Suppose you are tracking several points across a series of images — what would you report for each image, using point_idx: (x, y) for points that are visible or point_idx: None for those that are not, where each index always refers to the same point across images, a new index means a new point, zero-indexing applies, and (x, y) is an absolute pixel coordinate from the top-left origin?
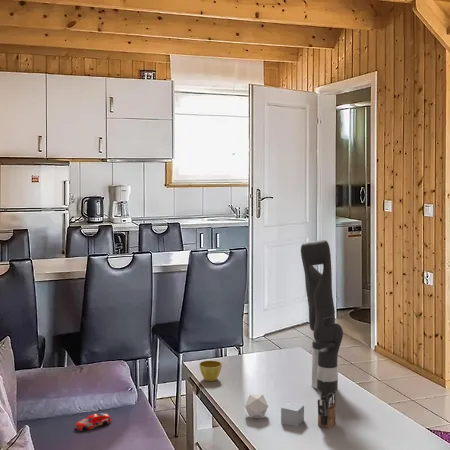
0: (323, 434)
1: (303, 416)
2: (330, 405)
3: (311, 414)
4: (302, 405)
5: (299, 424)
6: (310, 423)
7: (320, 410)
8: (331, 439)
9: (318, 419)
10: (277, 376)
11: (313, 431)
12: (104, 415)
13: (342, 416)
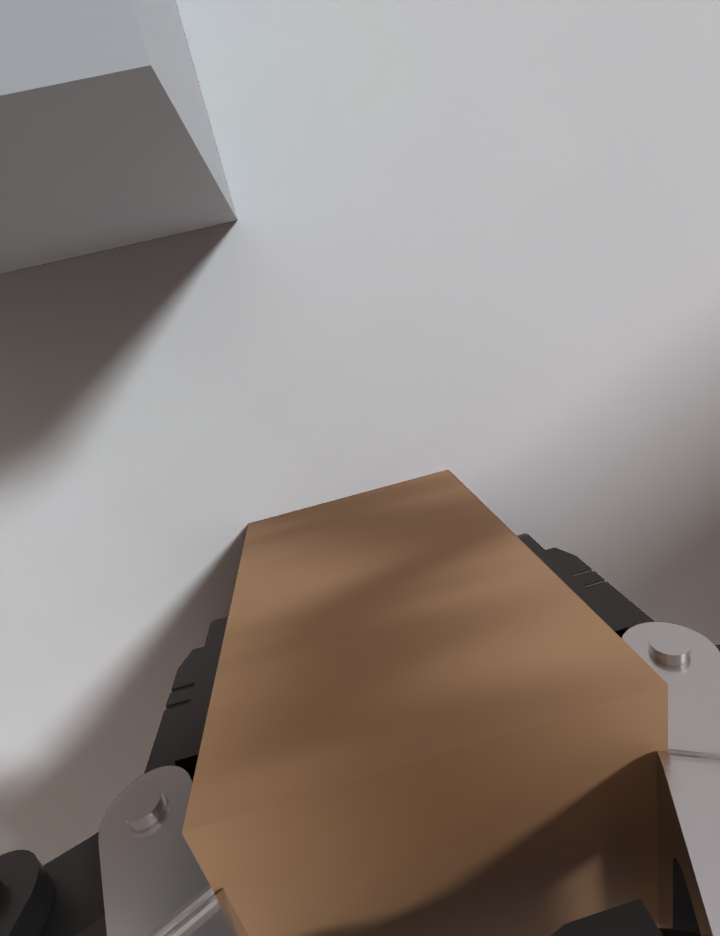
0: (63, 733)
1: (198, 206)
2: (571, 918)
3: (558, 174)
4: (57, 5)
5: (13, 270)
6: (219, 396)
7: (107, 908)
8: (35, 855)
9: (237, 583)
10: None
11: (15, 602)
12: None
13: (715, 571)
